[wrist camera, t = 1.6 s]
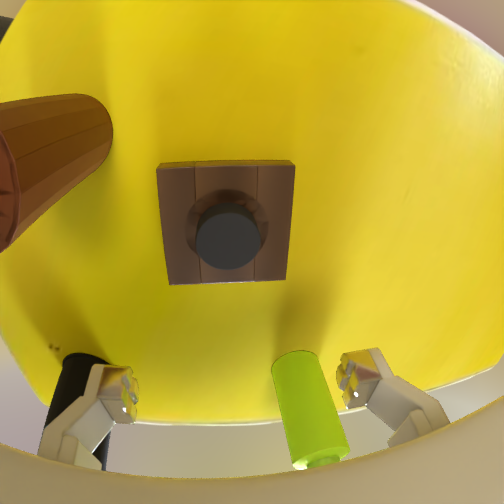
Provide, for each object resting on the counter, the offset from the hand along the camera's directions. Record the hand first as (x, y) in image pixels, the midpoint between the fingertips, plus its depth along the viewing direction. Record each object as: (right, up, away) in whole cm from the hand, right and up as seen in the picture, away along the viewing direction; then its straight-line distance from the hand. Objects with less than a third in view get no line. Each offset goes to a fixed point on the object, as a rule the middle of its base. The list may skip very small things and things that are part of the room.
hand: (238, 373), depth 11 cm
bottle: (-13, +14, +9) cm, 21 cm away
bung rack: (-2, +7, +14) cm, 16 cm away
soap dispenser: (+6, -10, +25) cm, 28 cm away
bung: (-2, +7, +14) cm, 16 cm away
